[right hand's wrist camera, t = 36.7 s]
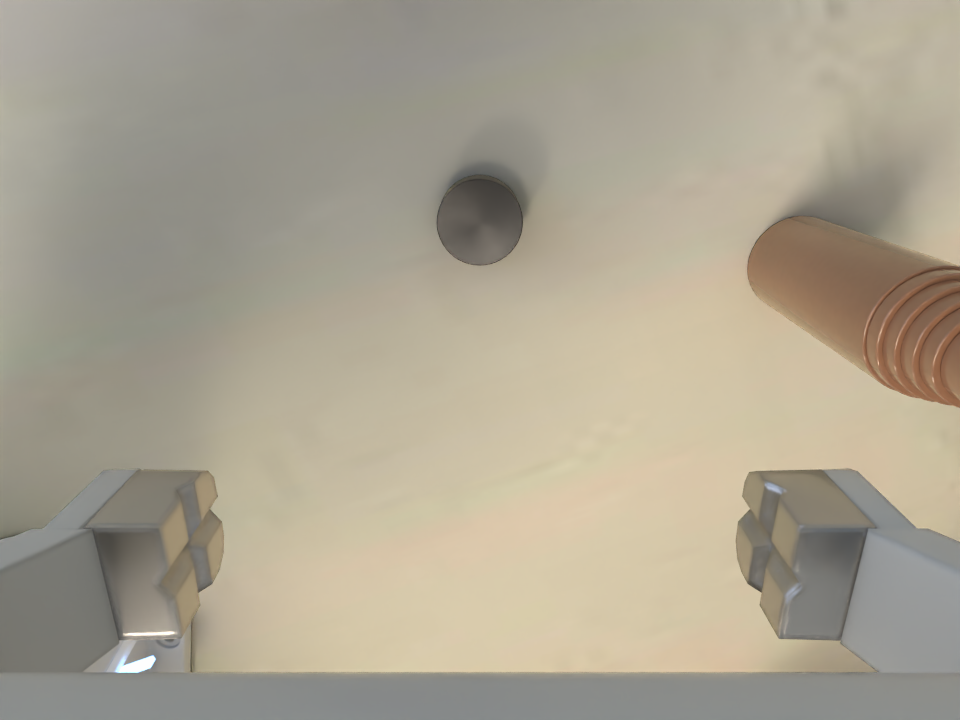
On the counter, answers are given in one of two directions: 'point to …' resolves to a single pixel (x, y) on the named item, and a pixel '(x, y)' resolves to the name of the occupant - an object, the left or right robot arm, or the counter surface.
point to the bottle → (866, 302)
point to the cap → (479, 220)
